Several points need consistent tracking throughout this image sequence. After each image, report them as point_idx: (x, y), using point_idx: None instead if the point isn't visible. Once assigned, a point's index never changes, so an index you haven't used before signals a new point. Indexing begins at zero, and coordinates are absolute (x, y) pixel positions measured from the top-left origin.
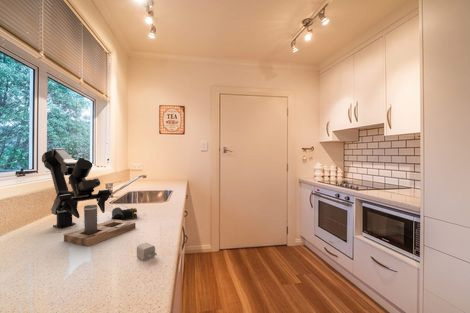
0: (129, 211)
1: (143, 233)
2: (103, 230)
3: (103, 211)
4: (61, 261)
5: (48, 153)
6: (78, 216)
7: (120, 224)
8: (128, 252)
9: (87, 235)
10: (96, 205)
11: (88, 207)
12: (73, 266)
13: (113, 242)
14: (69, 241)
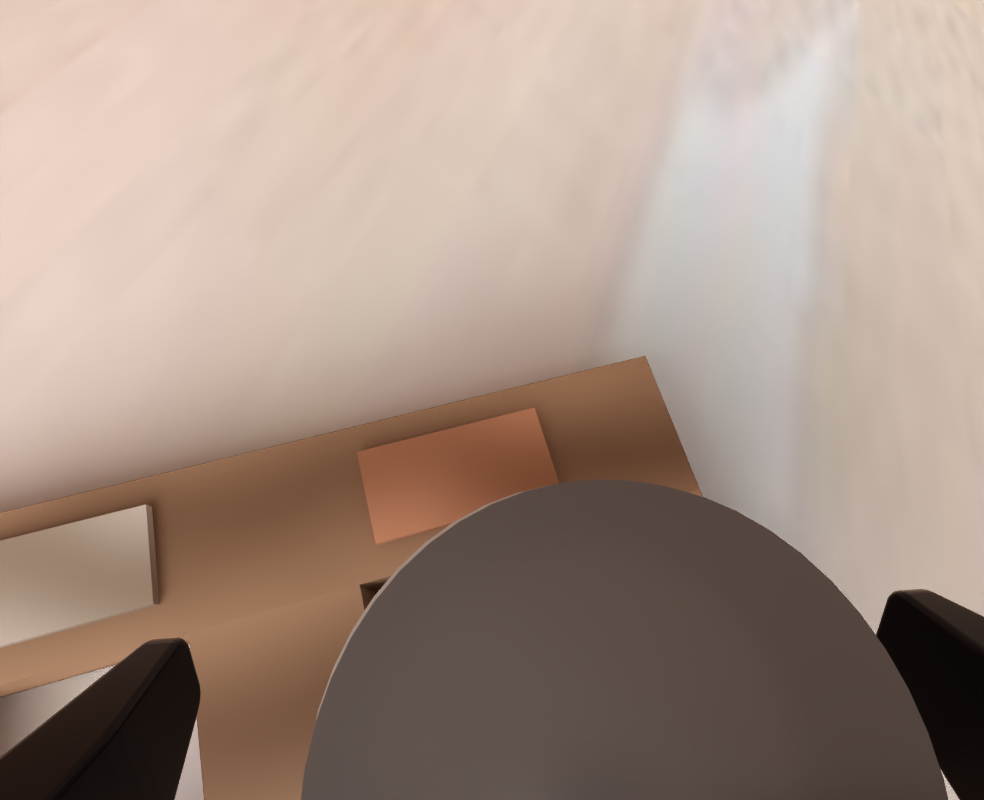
0: None
1: (31, 284)
2: (374, 533)
3: (181, 656)
4: (866, 240)
5: None
6: (930, 591)
7: (13, 638)
8: (436, 26)
9: None
10: (388, 623)
11: (778, 544)
12: (799, 103)
13: (400, 294)
14: None
